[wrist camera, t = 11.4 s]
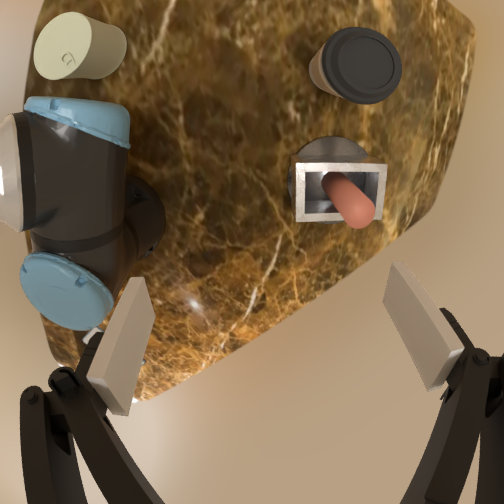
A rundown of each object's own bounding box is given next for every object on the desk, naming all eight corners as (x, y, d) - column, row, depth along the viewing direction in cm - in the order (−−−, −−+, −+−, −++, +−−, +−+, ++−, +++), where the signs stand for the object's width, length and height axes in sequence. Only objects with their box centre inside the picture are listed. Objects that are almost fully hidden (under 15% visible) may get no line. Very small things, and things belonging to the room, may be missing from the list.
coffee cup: (371, 86, 38) (422, 88, 24) (320, 110, 40) (354, 119, 27) (342, 34, 34) (384, 12, 21) (289, 57, 36) (310, 40, 23)
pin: (320, 195, 45) (342, 228, 35) (321, 170, 43) (344, 197, 33) (345, 194, 45) (373, 227, 35) (346, 170, 43) (376, 196, 33)
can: (91, 90, 37) (48, 95, 26) (67, 51, 33) (22, 48, 22) (137, 53, 35) (102, 44, 24) (110, 13, 31) (72, -3, 20)
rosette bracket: (287, 222, 49) (292, 240, 43) (286, 135, 42) (291, 142, 36) (368, 220, 48) (382, 236, 43) (375, 137, 42) (391, 144, 36)
